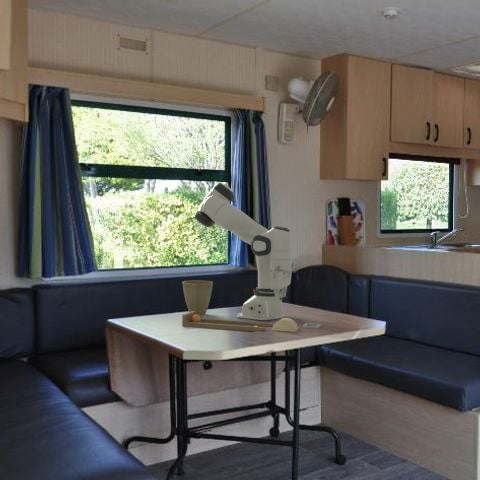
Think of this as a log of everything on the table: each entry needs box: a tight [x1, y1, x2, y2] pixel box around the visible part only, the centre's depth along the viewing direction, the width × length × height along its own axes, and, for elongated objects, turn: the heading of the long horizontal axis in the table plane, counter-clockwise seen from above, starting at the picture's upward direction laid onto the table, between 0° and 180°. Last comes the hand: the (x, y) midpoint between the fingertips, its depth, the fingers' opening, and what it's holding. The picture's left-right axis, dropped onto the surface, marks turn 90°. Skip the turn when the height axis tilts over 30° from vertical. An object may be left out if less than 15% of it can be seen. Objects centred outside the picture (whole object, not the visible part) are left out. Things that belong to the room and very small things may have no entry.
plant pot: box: [181, 279, 214, 317], centre depth 288 cm, size 15×15×16 cm
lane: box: [181, 311, 299, 333], centre depth 255 cm, size 50×11×10 cm, turn 70°
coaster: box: [301, 322, 322, 330], centre depth 254 cm, size 7×7×1 cm
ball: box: [192, 314, 201, 323], centre depth 262 cm, size 4×4×4 cm
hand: (280, 298), depth 248 cm, fingers open, 8 cm apart
